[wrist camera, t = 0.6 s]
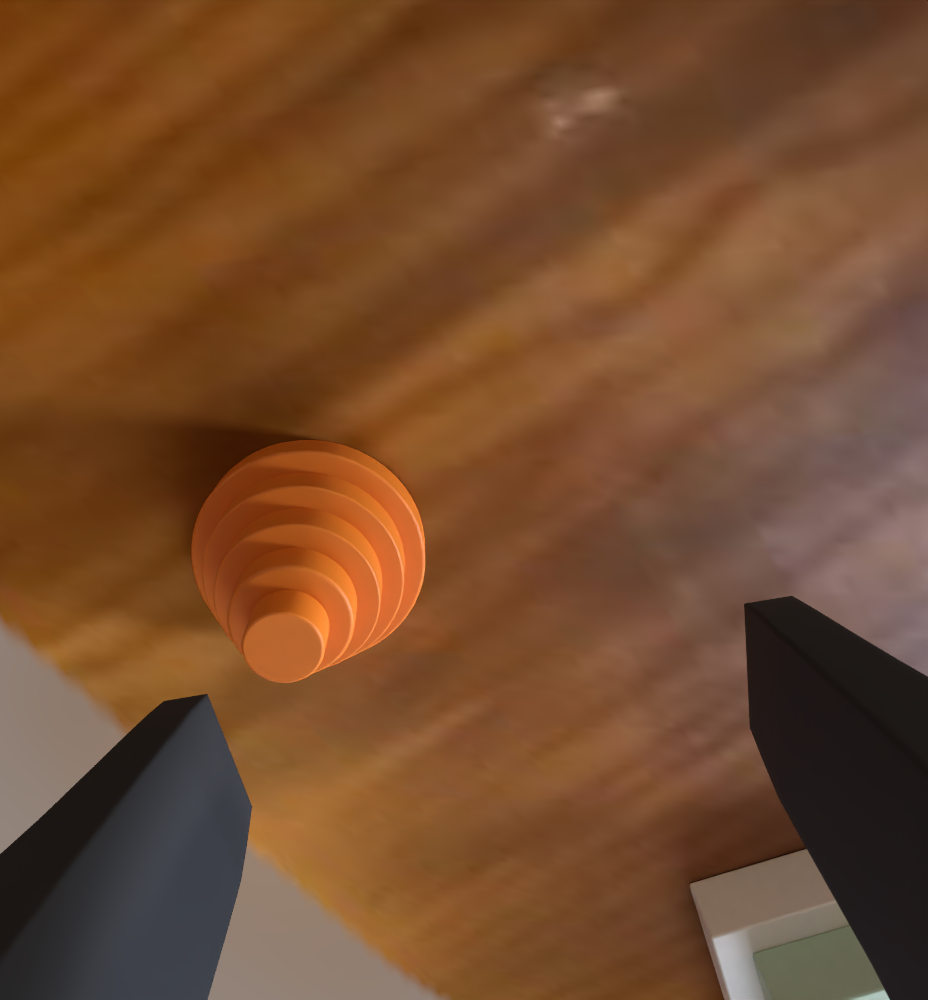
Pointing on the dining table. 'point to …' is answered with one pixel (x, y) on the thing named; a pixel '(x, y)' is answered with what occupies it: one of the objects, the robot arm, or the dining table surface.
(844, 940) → the top block
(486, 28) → the dining table surface
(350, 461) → the cone
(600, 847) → the dining table surface
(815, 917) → the base block
